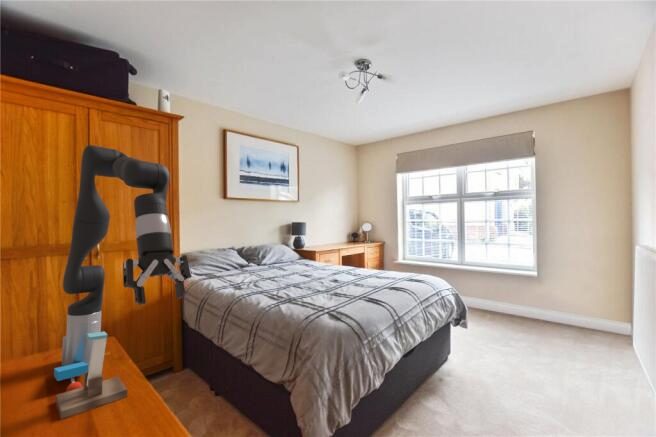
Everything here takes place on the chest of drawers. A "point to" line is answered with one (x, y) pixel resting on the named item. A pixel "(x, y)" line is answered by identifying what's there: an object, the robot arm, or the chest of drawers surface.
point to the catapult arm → (97, 353)
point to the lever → (71, 374)
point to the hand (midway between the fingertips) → (161, 301)
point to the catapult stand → (90, 395)
